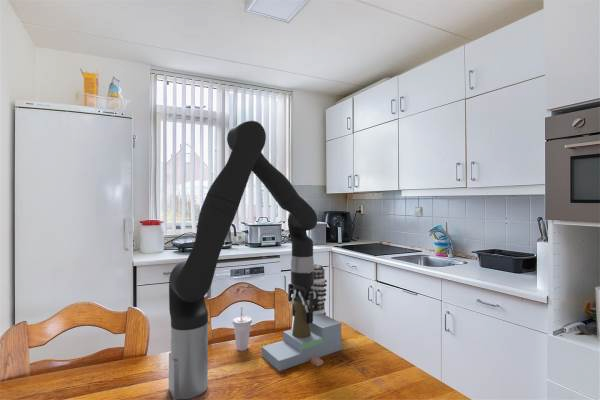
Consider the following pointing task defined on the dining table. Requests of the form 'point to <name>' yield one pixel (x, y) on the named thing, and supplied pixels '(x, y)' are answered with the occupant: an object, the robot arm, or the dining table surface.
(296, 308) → the olive green pepper mill
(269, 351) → the step stand
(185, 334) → the robot arm
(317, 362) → the pointer
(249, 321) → the smoothie
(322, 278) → the decorative candle
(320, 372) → the dining table surface
